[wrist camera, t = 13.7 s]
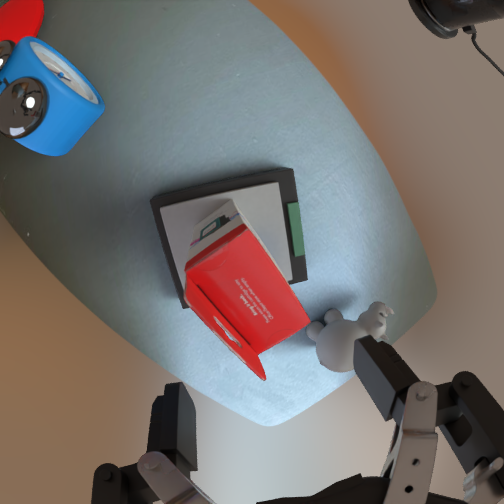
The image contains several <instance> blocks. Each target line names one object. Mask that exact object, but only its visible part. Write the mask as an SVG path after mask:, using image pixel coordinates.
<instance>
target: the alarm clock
mask: <svg viewBox="0 0 504 504" xmlns="http://www.w3.org/2000/svg"><path fill="white" fill-rule="evenodd" d="M104 110H105V105H104V102H103V100H102V98H101V96H100V95H99V93H98V92H97V91H96V89H95V88H94V87H93V85H92V84H91V83H90V82H89V81H88V80H87V78H86V77H85V76H84V75H83V74H82V73H81V72H80V71H79V70H78V69H77V68H76V67H75V66H74V65H73V64H72V63H71V62H70V61H68V60H67V59H66V58H65V57H64V56H63V55H61V54H60V53H59V52H58V51H56V50H55V49H54V48H52V47H51V46H50V45H48V44H47V43H45V42H43V41H41V40H40V39H38V38H35V37H32V36H26V37H23V38H22V39H21V40H20V41H19V42H18V43H17V44H16V43H15V42H14V41H12V40H2V41H0V132H1V133H2V134H3V135H4V136H6V137H8V138H11V139H14V140H15V141H17V142H18V143H20V144H21V145H23V146H25V147H27V148H29V149H31V150H33V151H35V152H38V153H41V154H45V155H49V156H61V155H64V154H66V153H68V152H69V151H70V150H71V149H72V147H73V146H74V145H75V144H76V142H77V141H78V140H79V139H80V138H81V137H82V135H83V134H84V133H85V132H86V131H87V130H88V129H89V128H90V127H91V125H92V124H93V123H94V122H95V121H96V120H97V119H98V118H99V117H100V116H101V115H102V114H103V112H104Z"/></svg>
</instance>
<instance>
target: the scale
mask: <svg viewBox="0 0 504 504" xmlns="http://www.w3.org/2000/svg"><path fill="white" fill-rule="evenodd" d="M231 199H233V200H234V201H235V203H236V204H237V206H238V207H239V208H240V210H241V211H242V213H243V214H244V216H245V217H246V218H247V220H248V221H249V223H250V224H251V226H252V227H253V228H254V230H255V231H256V233H257V234H258V236H259V237H260V239H261V240H262V242H263V243H264V244H265V246H266V247H267V249H268V250H269V252H270V253H271V255H272V256H273V258H274V259H275V260H276V262H277V264H278V266H279V268H280V269H281V271H282V273H283V275H284V276H285V278H286V280H287V281H288V283H289V285H290V284H294V283H298V282H302V281H306V280H308V278H307V268H306V259H305V249H304V240H303V232H302V224H301V217H300V209H299V202H298V197H297V190H296V184H295V177H294V171H293V169H291V168H281V169H276V170H270V171H264V172H259V173H254V174H248V175H243V176H238V177H234V178H229V179H224V180H220V181H215V182H211V183H206V184H202V185H198V186H193V187H189V188H185V189H181V190H177V191H173V192H169V193H166V194H162V195H158V196H154V197H153V198H152V199H151V200H150V204H151V208H152V211H153V215H154V219H155V222H156V226H157V230H158V233H159V237H160V240H161V243H162V247H163V250H164V253H165V257H166V260H167V263H168V266H169V269H170V272H171V275H172V278H173V282H174V284H175V287H176V290H177V293H178V296H179V299H180V302H181V305H182V308H183V309H186V308H190V307H189V306H188V305H187V303H186V302H185V300H184V287H185V280H186V277H185V274H184V269H185V265H186V261H187V256H188V252H189V248H190V243H191V239H192V234H193V230H194V227H195V225H197V224H198V223H200V222H201V221H202V220H204V219H205V218H206V217H208V216H209V215H210V214H212V213H213V212H214V211H216V210H217V209H218V208H220V207H221V206H223V205H224V204H225V203H227V202H228V201H230V200H231Z"/></svg>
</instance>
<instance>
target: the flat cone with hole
mask: <svg viewBox="0 0 504 504" xmlns="http://www.w3.org/2000/svg"><path fill="white" fill-rule="evenodd" d="M43 16H44V4H43V1H42V0H10V1H9V2H7V3H6V4H4V5H3V6H2V7H1V8H0V41H2V40H12V41H14V42H15V43H16V44H17V43H18V42H19V41H20V40H21V39H22V38H23V37H26V36H32V37H35V38H36V36H37V33H38V31H39V29H40V26H41V24H42V20H43Z"/></svg>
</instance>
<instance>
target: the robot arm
mask: <svg viewBox="0 0 504 504" xmlns="http://www.w3.org/2000/svg"><path fill="white" fill-rule="evenodd" d="M419 1H420V4H421V6H422V7H423V9H424V11H425V12H426V14H427V15H428V16H429V17H430V19H431V20H432V21H433V22H434V23H435V24H436V25H437V26H439V27H440V28H442V29H443V30H445V31H453V30H455V29H459V28H462V29H463V31H464V32H465V33H467V34H472V38H471V39H472V42H473V44H474V46H475V47H476V49H477V50H478V51H479V52H480V53H481V54H482V55H483V56H484V57H485V58H486V59H487V60H488V61H489V62H491V64H492V65H493V66H494V67H495V68H496V69H497V70H498V71H499V72H500V73H501V74H502V75H503V76H504V72H503V71H502V70H501V69H500V68H499V67H498V66H497V65H496V64H495V63H494V62H493V61H492V60H491V59H490V58H489V57H488V56H487V55H486V54H485V53H484V52H483V51H482V50H481V49H480V48H479V46H478V45H477V43H476V41H475V39H476V29H475V27H474V24H478V23H483V22H487V21H491V20H496V19H502V18H504V0H419ZM353 367H354V370H355V372H356V374H357V376H358V377H359V379H360V381H361V382H362V384H363V385H364V387H365V389H366V390H367V392H368V393H369V395H370V396H371V398H372V400H373V402H374V403H375V405H376V406H377V408H378V410H379V411H380V413H381V414H382V416H383V418H384V420H385V421H388V420H390V419H392V418H393V419H394V420H395V422H396V424H395V427H394V431H393V436H392V440H391V444H390V448H389V452H388V455H387V459H386V461H385V464H384V466H383V469H382V472H381V475H380V477H377V476H375V477H374V476H370V477H362V476H361V474H357V475H355V476H352V477H349V478H347V479H344V480H341V481H338V482H336V483H334V484H332V485H331V486H329V487H327V488H325V489H324V490H322V491H320V492H318V493H316V494H315V495H312V496H307V497H285V498H278V499H273V500H268V501H263V502H257V503H256V504H497V503H498V502H499V501H500V500H501V499H503V498H504V411H503V409H502V408H501V406H500V405H499V404H498V403H497V402H496V400H495V399H494V398H493V396H492V395H491V394H490V393H489V392H488V391H487V389H486V388H485V386H483V384H482V383H481V382H480V380H479V379H478V378H477V377H476V376H475V375H474V374H473V373H471V372H468V371H463V372H459V373H457V374H456V375H455V376H454V378H453V380H452V382H448V383H444V384H440V385H433V384H431V383H429V382H426V381H420V380H419V378H418V377H417V376H416V375H415V374H414V372H413V371H412V370H411V369H410V367H409V366H408V365H407V364H406V363H405V361H404V360H402V358H401V357H400V356H399V354H397V352H396V351H395V350H394V348H393V347H392V346H391V345H389V344H387V343H385V342H384V341H381V342H377V341H376V340H375V339H374V338H373V336H372V335H367V336H364V337H361V338H358V339H356V340H355V341H354V353H353ZM150 422H151V423H150V427H149V435H148V445H147V451H146V453H145V454H144V455H142V456H141V458H140V459H139V461H138V462H137V463H135V464H132V465H128V466H124V467H120V468H118V467H117V466H115V465H114V464H111V463H105V464H102V465H100V466H99V467H98V468H97V469H96V470H95V473H94V479H93V488H92V500H91V504H153V502H155V501H159V500H161V501H162V502H163V503H164V504H216V503H215V502H214V501H213V500H212V499H210V497H208V496H207V495H206V494H205V493H204V492H203V491H202V490H201V489H200V488H199V487H198V486H197V485H195V483H194V482H193V481H192V480H191V479H190V471H197V470H198V468H197V445H196V410H195V406H194V403H193V400H192V399H191V397H190V395H189V393H188V392H187V390H186V388H185V386H184V384H183V383H182V382H178V383H170V384H166V385H165V390H164V395H163V396H157V398H156V399H155V401H154V403H153V405H152V411H151V419H150ZM437 426H439V428H440V430H441V431H442V433H443V435H444V436H445V438H446V440H447V441H448V443H449V445H450V446H451V448H452V450H453V451H454V453H455V455H456V456H457V458H458V460H459V461H460V463H461V465H462V467H463V469H464V471H465V473H466V474H467V475H466V477H465V479H464V482H463V490H464V491H465V497H464V500H459V499H455V498H450V497H446V496H442V495H438V494H434V493H431V492H428V491H429V487H430V482H431V477H432V473H433V468H434V462H435V456H436V450H437V442H438V434H437V433H435V427H437Z"/></svg>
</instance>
